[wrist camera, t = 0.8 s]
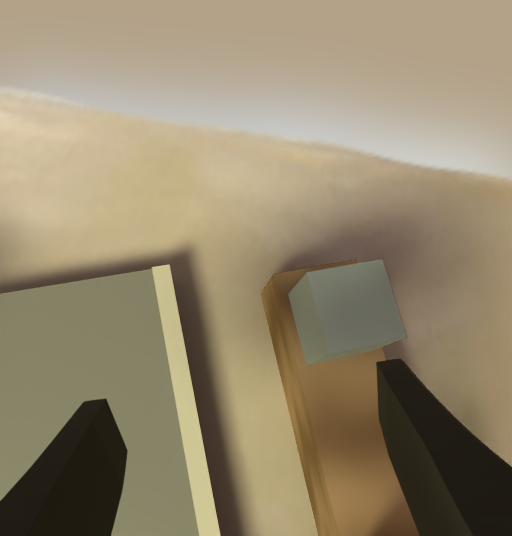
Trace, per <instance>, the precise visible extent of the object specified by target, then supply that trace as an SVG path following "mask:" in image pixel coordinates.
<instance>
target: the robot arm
mask: <svg viewBox="0 0 512 536" xmlns="http://www.w3.org/2000/svg"><path fill="white" fill-rule="evenodd" d="M376 367H377V391H378V415H379V421H380V425H381V429H382V433H383V437H384V441H385V444H386V448H387V452H388V455H389V458H390V461H391V463H392V466H393V468H394V471H395V474H396V476H397V479H398V481H399V484H400V487H401V489H402V492H403V494H404V497H405V499H406V502H407V505H408V507H409V510H410V512H411V515H412V517H413V520H414V523H415V525H416V528H417V530H418V533H419V535H420V536H512V467H511V466H510V465H509V464H508V463H506V462H505V461H504V460H503V459H501V458H500V457H499V456H498V455H496V454H495V453H494V452H493V451H492V450H490V449H489V448H488V447H487V446H486V445H485V444H483V443H482V442H481V441H480V440H479V439H478V438H477V437H476V436H475V435H473V434H472V433H471V432H470V431H469V430H468V429H467V428H466V427H465V426H464V425H463V424H462V423H460V422H459V421H458V420H457V419H456V418H455V417H454V416H453V415H452V414H451V413H450V412H449V411H448V410H447V409H446V408H445V407H444V406H443V405H442V404H441V403H440V402H439V401H438V400H437V399H436V398H435V396H434V395H433V394H432V393H431V392H430V391H429V390H428V389H427V388H426V387H425V386H424V384H423V383H422V382H421V381H420V380H419V379H418V378H417V377H416V375H415V374H414V373H413V372H412V371H411V369H410V368H409V367H408V366H407V365H406V363H405V362H404V361H403V360H401V359H393V360H386V361H378V362H376ZM127 452H128V450H127V448H126V445H125V443H124V440H123V438H122V436H121V433H120V431H119V428H118V426H117V423H116V421H115V419H114V416H113V414H112V411H111V409H110V407H109V404H108V402H107V399H106V398H105V399H97V400H90V401H84V402H83V403H82V404H81V406H80V407H79V408H78V409H77V410H76V412H75V413H74V414H73V415H72V417H71V418H70V419H69V420H68V422H67V423H66V424H65V425H64V427H63V428H62V429H61V430H60V432H59V433H58V434H57V435H56V437H55V438H54V439H53V440H52V442H51V443H50V444H49V445H48V447H47V448H46V449H45V450H44V451H43V453H42V454H41V455H40V456H39V457H38V459H37V460H36V461H35V462H34V464H33V465H32V466H31V467H30V468H29V469H28V471H27V472H26V473H25V474H24V475H23V476H22V477H21V478H20V479H19V481H18V482H17V483H16V484H15V485H14V486H13V487H12V488H11V490H10V491H9V492H8V493H7V494H6V495H5V496H4V497H3V499H2V500H1V501H0V536H111V534H112V530H113V526H114V522H115V518H116V514H117V511H118V507H119V503H120V499H121V494H122V490H123V484H124V477H125V470H126V461H127Z"/></svg>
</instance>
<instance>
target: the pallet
mask: <svg viewBox="0 0 512 536" xmlns="http://www.w3.org/2000/svg"><path fill="white" fill-rule="evenodd" d="M356 263H357V262H356V260H350V261H344V262H339V263H333V264H327V265H322V266H316V267H310V268H304V269H299V270H293V271H287V272H282V273H276V274H274V275H273V276H272V278H271V279H270V281H269V282H268V284H267V285H266V287H265V288H264V290H263V291H262V293H261V296H262V300H263V304H264V308H265V313H266V317H267V321H268V325H269V329H270V334H271V338H272V342H273V346H274V350H275V355H276V359H277V363H278V367H279V371H280V376H281V380H282V384H283V388H284V392H285V397H286V401H287V405H288V409H289V413H290V418H291V422H292V426H293V430H294V434H295V439H296V443H297V447H298V451H299V455H300V460H301V464H302V468H303V472H304V476H305V481H306V485H307V489H308V493H309V497H310V502H311V506H312V510H313V514H314V518H315V523H316V527H317V531H318V535H319V536H420V535H419V533H418V530H417V528H416V525H415V523H414V520H413V517H412V515H411V512H410V510H409V507H408V505H407V502H406V499H405V497H404V494H403V492H402V489H401V487H400V484H399V481H398V479H397V476H396V474H395V471H394V468H393V466H392V463H391V461H390V458H389V455H388V452H387V448H386V444H385V441H384V437H383V433H382V429H381V425H380V421H379V415H378V391H377V367H376V362H378V361H386V358H385V355H384V352H383V348H379V349H377V350H374V351H370V352H365V353H361V354H356V355H352V356H347V357H343V358H338V359H334V360H329V361H325V362H320V363H316V364H311V365H307V366H306V363H305V359H304V355H303V351H302V347H301V343H300V339H299V335H298V331H297V327H296V324H295V320H294V316H293V312H292V308H291V304H290V300H289V296H288V294H289V292H290V291H291V290H292V289H293V288H294V287H295V285H296V284H297V283H298V282H299V281H300V280H301V278H302V277H303V276H304V275H305V274H306V273H307V272H311V271H317V270H322V269H328V268H334V267H339V266H345V265H350V264H356Z"/></svg>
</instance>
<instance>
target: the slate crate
mask: <svg viewBox="0 0 512 536" xmlns="http://www.w3.org/2000/svg"><path fill="white" fill-rule="evenodd" d="M288 296H289V300H290V304H291V308H292V312H293V316H294V320H295V324H296V327H297V331H298V335H299V339H300V343H301V347H302V351H303V355H304V359H305V363H306V366H307V365H311V364H316V363H320V362H325V361H329V360H334V359H338V358H343V357H347V356H352V355H356V354H361V353H365V352H370V351H374V350H377V349H379V348H382V347H384V346H387V345H389V344H392V343H394V342H397V341H399V340H402V339H404V338H407V335H406V332H405V329H404V326H403V323H402V319H401V316H400V313H399V310H398V307H397V304H396V301H395V297H394V294H393V291H392V288H391V285H390V282H389V278H388V275H387V272H386V269H385V266H384V263H383V259H379V260H373V261H367V262H362V263H356V264H350V265H345V266H339V267H334V268H328V269H322V270H317V271H311V272H307V273H306V274H305V275H304V276H303V277H302V278H301V280H300V281H299V282H298V283H297V284H296V285H295V287H294V288H293V289H292V290H291V291H290V292H289V294H288Z"/></svg>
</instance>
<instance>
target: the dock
mask: <svg viewBox="0 0 512 536" xmlns="http://www.w3.org/2000/svg"><path fill="white" fill-rule="evenodd" d="M105 398H106V399H107V402H108V404H109V407H110V409H111V411H112V414H113V416H114V419H115V421H116V423H117V426H118V428H119V431H120V433H121V436H122V438H123V440H124V443H125V445H126V448H127V450H128V452H127V461H126V470H125V477H124V484H123V490H122V494H121V499H120V503H119V507H118V511H117V514H116V518H115V522H114V526H113V530H112V534H111V536H220V531H219V525H218V520H217V515H216V509H215V504H214V499H213V493H212V488H211V483H210V477H209V472H208V467H207V461H206V456H205V451H204V445H203V440H202V435H201V429H200V424H199V419H198V414H197V408H196V403H195V398H194V392H193V387H192V382H191V376H190V371H189V366H188V360H187V355H186V350H185V344H184V339H183V334H182V328H181V323H180V318H179V312H178V307H177V302H176V296H175V291H174V286H173V280H172V275H171V270H170V264H168V265H162V266H156V267H152V269H148V270H142V271H136V272H129V273H123V274H117V275H111V276H105V277H99V278H93V279H87V280H81V281H75V282H68V283H62V284H56V285H50V286H44V287H38V288H32V289H26V290H20V291H13V292H7V293H1V294H0V501H1V500H2V499H3V497H4V496H5V495H6V494H7V493H8V492H9V491H10V490H11V488H12V487H13V486H14V485H15V484H16V483H17V482H18V481H19V479H20V478H21V477H22V476H23V475H24V474H25V473H26V472H27V471H28V469H29V468H30V467H31V466H32V465H33V464H34V462H35V461H36V460H37V459H38V457H39V456H40V455H41V454H42V453H43V451H44V450H45V449H46V448H47V447H48V445H49V444H50V443H51V442H52V440H53V439H54V438H55V437H56V435H57V434H58V433H59V432H60V430H61V429H62V428H63V427H64V425H65V424H66V423H67V422H68V420H69V419H70V418H71V417H72V415H73V414H74V413H75V412H76V410H77V409H78V408H79V407H80V406H81V404H82V403H83V402H84V401H90V400H97V399H105Z"/></svg>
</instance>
